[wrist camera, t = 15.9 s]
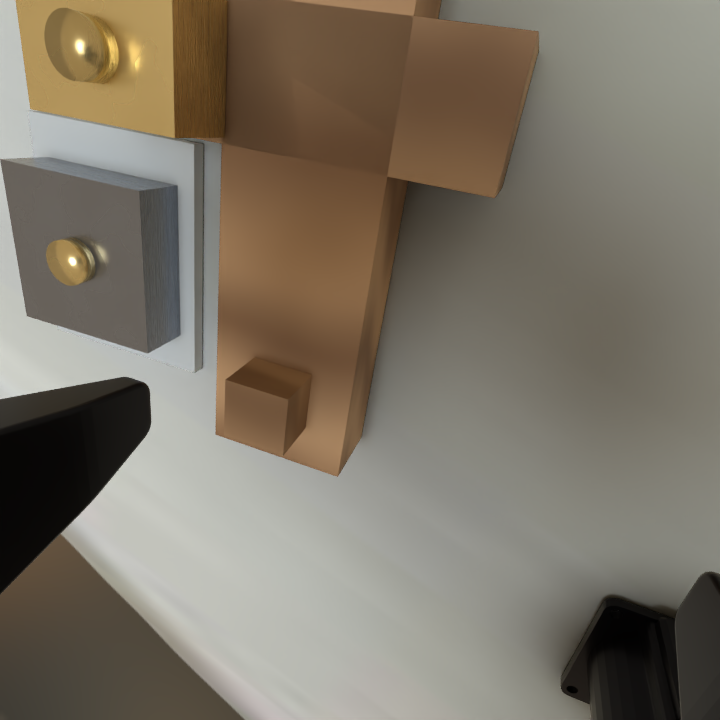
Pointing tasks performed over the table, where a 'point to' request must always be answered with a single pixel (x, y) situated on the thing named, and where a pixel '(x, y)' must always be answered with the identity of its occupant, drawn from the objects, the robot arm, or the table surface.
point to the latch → (129, 62)
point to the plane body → (339, 194)
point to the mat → (152, 162)
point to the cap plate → (96, 250)
